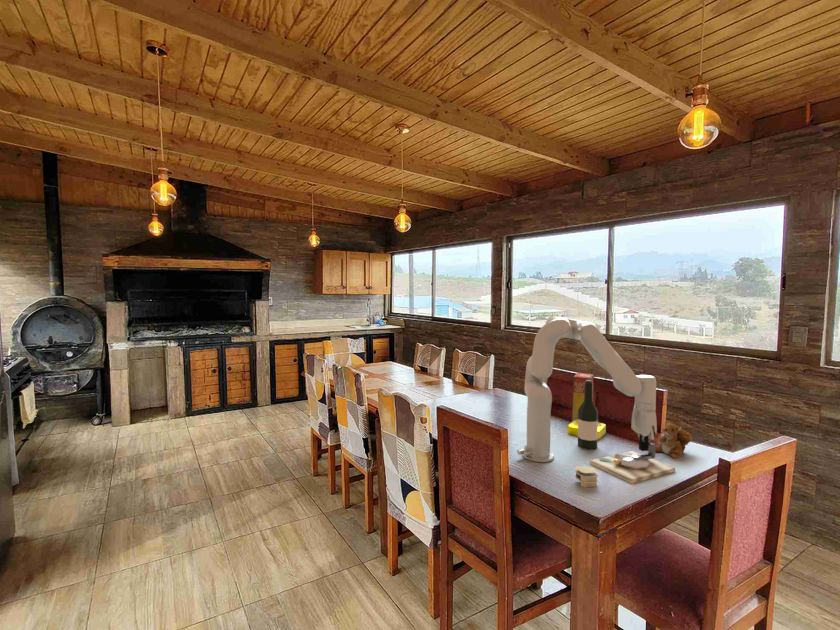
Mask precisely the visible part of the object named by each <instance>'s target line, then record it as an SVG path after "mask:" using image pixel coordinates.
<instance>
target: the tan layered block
mask: <svg viewBox="0 0 840 630" xmlns="http://www.w3.org/2000/svg"><path fill="white" fill-rule="evenodd" d="M574 468H575V469H576V470H574V472H575V475H574V478H575V479H576V480H578V481H579V483H580V487H584V488H587V487H598V483H599V481H598V477H599V475H598V473H599V471H598V470H597V469H596V467H590V466H583V465H581V466H580V465H576V466H575V467H574Z"/></svg>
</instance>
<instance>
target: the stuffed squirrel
mask: <svg viewBox="0 0 840 630" xmlns="http://www.w3.org/2000/svg"><path fill="white" fill-rule="evenodd" d="M665 423H666V424H665V425H664V428H663V429H661V430H660V432H661V433H664V434H663V435H662V436H659V437H658V442H659V445H658V446H656V448H655V452H657V453H664V454H666V455H669V456H670V457H671V458H672V459H678V458H681V457H682V453H683V452H684V451H685V450H686V446H687V445H689V443H690V442H693V435H692V434H691V433H690V432H689V431H686V430H684V429H682V426H678V425H676V424H674V423H671V422H668V421H666V422H665Z"/></svg>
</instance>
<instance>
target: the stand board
mask: <svg viewBox="0 0 840 630" xmlns="http://www.w3.org/2000/svg"><path fill="white" fill-rule="evenodd" d="M626 452H627V453H634V454H638V455H642V454H641V453H638V452H635V451H633V450H631V451H626ZM614 460H615V454H612V455H607V456H603V457H598V458H594V459H590V460H589V464H590V465H591V466H593V467H594V468H598V469H600V470H602V471H604V472H606V473H608V474H610V475H613V476H615V477H616V478H619V479H621V480H624V481H625V482H626V483H630V484H635V483H636V484H637V483H638V482H642V481H646V480H650V479H653V478H657V477H660V476H664V475H668V474H671V473H675V472H676V468H675V467H674V466H671V465H669V464H666V463H664V462H661V461H659V460H657V459H655V458H654V459H648V460H649V468H647V469H643V470H635V469H629V468H625V467H622V466H620V465H615V464H614Z"/></svg>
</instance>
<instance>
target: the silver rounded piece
mask: <svg viewBox="0 0 840 630" xmlns="http://www.w3.org/2000/svg"><path fill="white" fill-rule="evenodd" d="M656 447H657V446H656V443H654V442H653V443H652V442H649V443H648V451H647V454H641V455H638V454H639V453H638V454H634V453H627V452H628V451H626V452H624V451H623V452H617V453H615V454H614V455H615V460H614V464H615V465H620V466H622V467H625V468H629V469H635V470H643V469H647V468H649V460H648V459H654V460H655V458H656V451H655V448H656Z"/></svg>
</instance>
